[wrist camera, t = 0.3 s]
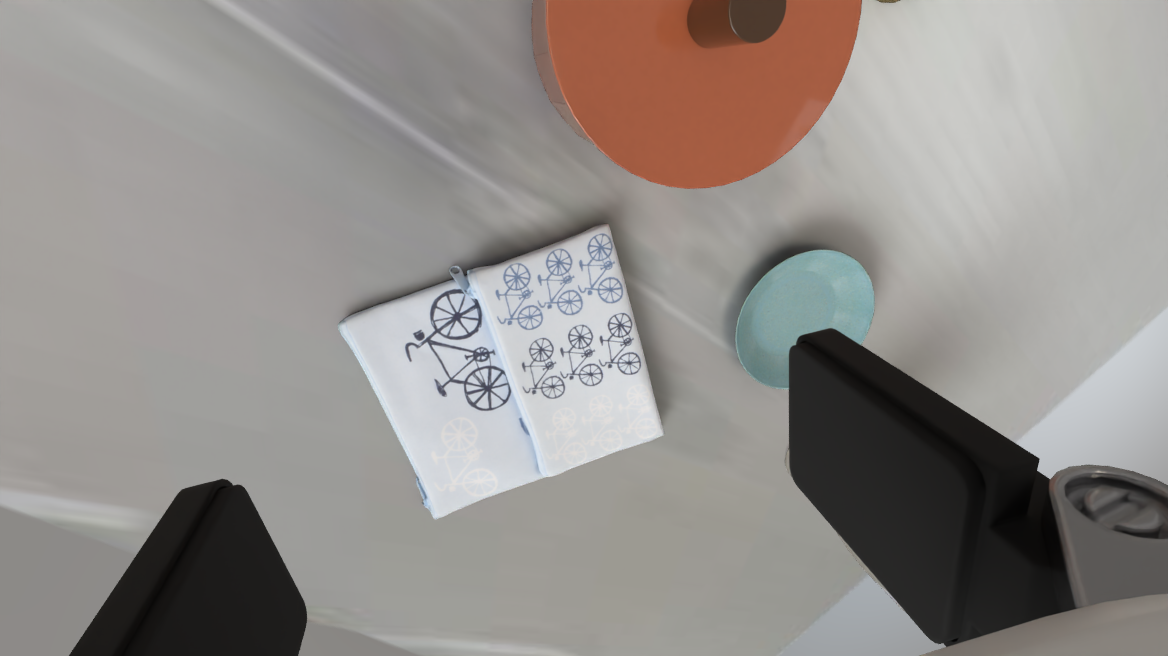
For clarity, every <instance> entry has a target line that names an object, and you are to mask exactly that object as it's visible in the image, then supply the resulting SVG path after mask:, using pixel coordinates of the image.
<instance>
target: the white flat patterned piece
mask: <svg viewBox="0 0 1168 656" xmlns="http://www.w3.org/2000/svg"><path fill="white" fill-rule="evenodd" d="M454 268H457V269H459V273H457V274H454V273H453V272H452V269H454ZM449 272H450V274H451V276H452V277H453V278H454V280H450V281H447V282H444V283H441V284H438V285H436V286H433V287H430V288H427V289H424V290H421V291H418V292H415V293H413V294H410V295H407V296H404V297H401V298H398V299H395V300H392V301H389V302H386V303H383V304H380V305H376V306H374V307H371V308H369V309H366V310H363V311H360V312H358V313H355V314H353V315H350V316H348V317H347V318H345V319H344V320H343V321H342V322H340V323H339V324H338V329H339V332H340V334H341V335H342V337H343V338H344V339H345V341H346V342H347V343H348V345H349V346H350V348H351V349H352V351H353V353H354V354H355V356H356V358H357V359H358V361H359V363H360V365H361V367H362V368H363V370H364V372H365V374H366V376H367V378H368V380H369V382H370V384H371V386H372V388H373V390H374V392H375V394H376V395H377V397H378V399H379V401H380V403H381V405H382V407H383V409H384V411H385V413H386V415H387V417H388V419H389V421H390V423H391V425H392V427H393V429H394V431H395V433H396V435H397V437H398V439H399V441H400V443H401V445H402V447H403V449H404V451H405V453H406V455H407V457H408V459H409V461H410V463H411V465H412V467H413V469H414V471H415V472H416V474H417V478H416V483H417V486H418V488H419V490H420V493H421V495H422V498H423V500H424V502H422V504H423V505H424V507H426V508H428V510H429V511H431V513H432V516H433V518H434V519H437V518H441V517H444V516H446V515H448V514H450V513H452V512H454V511H456V510H458V509H461V508H463V507H466V506H468V505H470V504H473V503H475V502H477V501H480V500H482V499H485V498H487V497H490V496H493V495H496V494H499V493H502V492H504V491H507V490H510V489H513V488H516V487H518V486H521V485H524V484H527V483H530V482H533V481H536V480H539V479H541V478H544V477H546V476H548V477H551V476H555V475H558V474H561V473H563V472H565V471H567V470H569V469H571V468H574V467H577V466H579V465H582V464H585V463H587V462H590V461H593V460H596V459H598V458H601V457H603V456H606V455H609V454H612V453H614V452H617V451H620V450H623V449H626V448H630V447H632V446H635V445H638V444H641V443H645V442H649V441H652V440H654V439H656V438H657V437H659V436H663V435H664V434H665V433H664V430H663V427H662V423H661V419H660V416H659V412H658V409H657V405H656V401H655V397H654V393H653V389H652V386H651V381H650V377H649V373H648V369H647V365H646V361H645V357H644V353H643V348H642V344H641V341H640V337H639V334H638V330H637V327H636V323H635V320H634V316H633V312H632V308H631V304H630V300H629V297H628V292H627V288H626V283H625V280H624V277H623V274H622V270H621V267H620V263H619V260H618V256H617V252H616V248H615V245H614V242H613V238H612V235H611V230H610V227H609V225H608V224H603V225H599V226H595V227H593V228H591V229H589V230H587V231H585V232H582V233H580V234H578V235H575V236H572V237H570V238H567V239H564V240H562V241H559V242H557V243H554V244H552V245H549V246H546V247H544V248H541V249H538V250H535V251H533V252H530V253H527V254H524V255H521V256H519V257H516V258H513V259H510V260H507V261H505V262H502V263H500V264H497V265H492V266H485V267H478V268H474V269H472V270H468V271H467V275H466V276H464V275H463V272H462V270H461V268H460V267H459V266H452V267H451V268H450V269H449ZM418 480H419V481H420V483H419V482H418Z"/></svg>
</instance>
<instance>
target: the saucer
mask: <svg viewBox="0 0 1168 656" xmlns="http://www.w3.org/2000/svg"><path fill="white" fill-rule="evenodd" d="M874 306H875V297H874V289H873V285H872V282H871V279H870V277H869V275H868V273H867V272H866V270H865V268H864V267H863V266H862V265H861V264H860V263H859V262H858V261H857V260H855V259H854V258H852V257H851V256H849V255H847V254H844V253H842V252H839V251H834V250H823V249H822V250H812V251H807V252H804V253H800V254H797V255H795V256H792V257H790V258H788V259H786V260H784V261H783V262H781V263H779V264H778V265H777V266H775V267H774V268H772V269H771V270H770V271H768V272H767V273H766V274H765V275H764V276H763V277H762V278H761V279H760V280H759V281H758V283H757V284H756V285H755V286H754V288H753V289H752V290H751V292H750V293H749V295H748V296H747V298H746V300H745V302H744V304H743V306H742V308H741V311H740V314H739V317H738V320H737V325H736V331H735V345H736V350H737V355H738V358H739V360H740V362H741V364H742V366H743V367H744V369H745V371H746V372H747V373H748V374H749V375H750V376H751V377H752V378H753V379H755V380H756V381H757V382H759V383H761V384H763V385H766V386H768V387H771V388H777V389H789V350H790V348H791V347H792V346H793V345H796V341H797V339H798V337H799V336H801V335H804V334H808V333H812V332H816V331H820V330H824V329H828V328H833V329H836V330H838V331H839V332H841V333H842V334H844V335H846V336H847V337H849V338H850V339H852V340H853V341H855V342H857V343H858V344H860V345H861V344H862V343H863V341H864V339H865V337H866V335H867V333H868V330H869V328H870V325H871V322H872V318H873V315H874Z"/></svg>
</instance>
